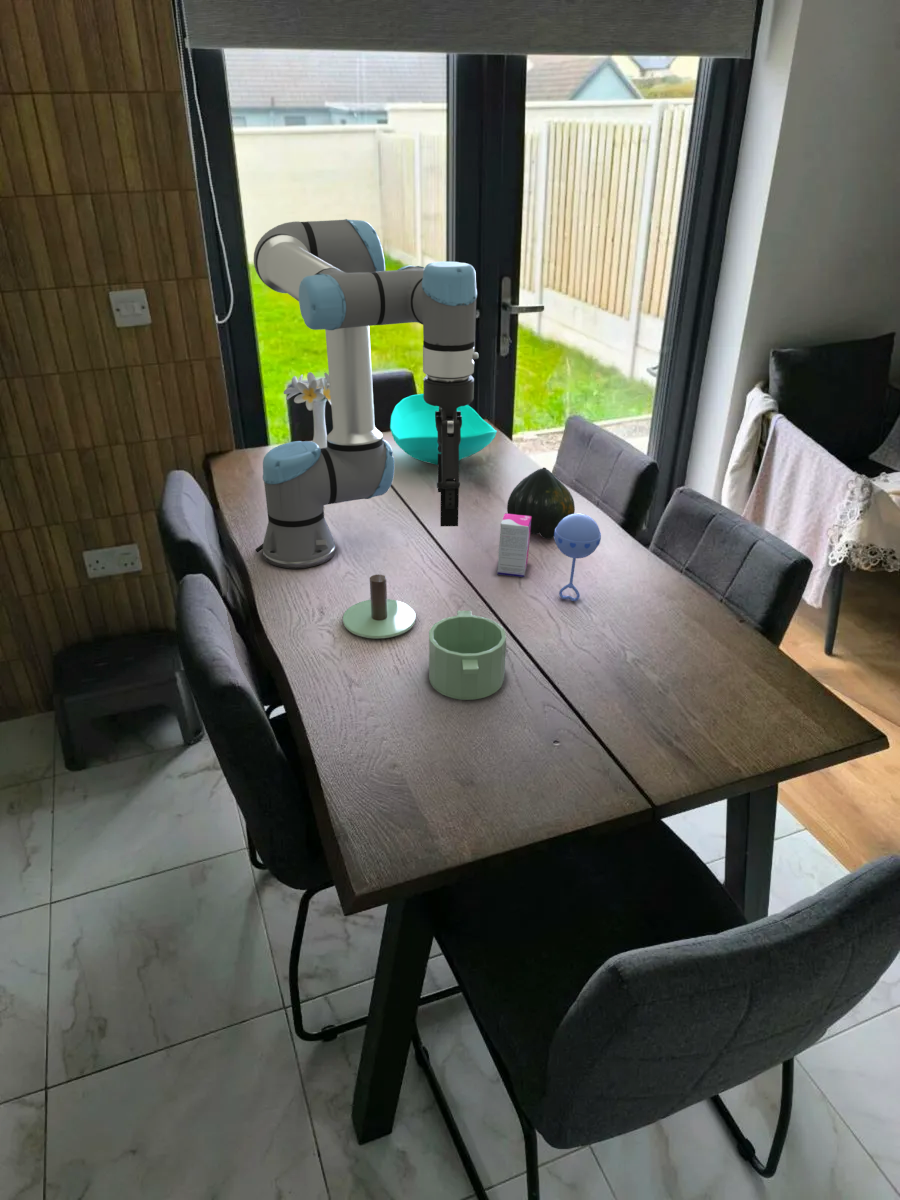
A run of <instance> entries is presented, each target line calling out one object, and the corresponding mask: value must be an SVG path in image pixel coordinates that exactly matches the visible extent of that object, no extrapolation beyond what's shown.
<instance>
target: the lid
mask: <svg viewBox="0 0 900 1200" xmlns="http://www.w3.org/2000/svg"><path fill="white" fill-rule="evenodd" d="M387 587H388V585H387V576H386V575H384V574H378V573H377V574H373V575H371V576H370V577H369V596H370V599H366V600H362V601H359V602H357V603H354V604H353V605H350V607H348V608H347V609H346V610H345V612H344V613H343V616H342V623H343V626H344V627H345V629H346V630H347V631H349V632H350V633H351V634H353V635H356V636H358V637H362V638H367V639H388V638H394V637H397V636H400V635H403V634H405V633H406V632H408V631H409V630H410V629H412V628H413V627H414V626H415V623H416V620H417V619H416V618H417V616H416V612H415V610H414V609H413V608H412V607H411V606H410V605H409V604H407V603H405V602H402V601H400V600H397V599H390V598H388V589H387Z"/></svg>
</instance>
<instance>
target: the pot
mask: <svg viewBox="0 0 900 1200" xmlns="http://www.w3.org/2000/svg"><path fill="white" fill-rule="evenodd" d="M506 653H507V634H506V630H505V629H504V628H503V627H502V626H501V624H499V622H496V621H494V620H493V619H490V618H488V617H484V616H479V615H474V614H472V610H457V611H456V615H453V616H448V617H445V618H443V619H441V620H439V621H437V622H435V623H434V624H433V625H432V627H430V629H429V631H428V675H429V676H428V680H429V683H430V685H431V686H432V688H433V689H434V690H435V691H436V692H438V693H439V694H441V695H443V696H445V697H448V698H451V699H455V700H462V701H474V700H480V699H485V698H487V697H490V696H491V695H493V694H495V693H497V692H498V691H499V690H500V689H501V688H502V686H503V684H504V680H505V674H506V673H505V669H506Z"/></svg>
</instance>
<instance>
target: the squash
mask: <svg viewBox="0 0 900 1200" xmlns="http://www.w3.org/2000/svg"><path fill="white" fill-rule="evenodd" d="M575 510H576V507H575V501H574V498H573V495H572V493H571V492H570V490H569V489H568V488H567V487H566V485H564V484H563V482H561V481H560V479H558V478H557V477H556V476H555V474H554V473H552V471H550V470H549V469H548V468H547V467H542V468H539V469H538V468H537V469H536V470H535V471H533V472H532V473H530V474H528V475H527V476H526V477H524V478H523V479H522V480H520V481H519V482H518V484H517V485H515V487H514V488H513V490H512V491H511V493H510V495H509V497H508V500H507V505H506V513H507V514H515V515H524V516H531V528H530V534H532V535H540V536H541V538H543V539H545V540H551V539H554V532H555V528H556V527H557V525H558V524H559V522H560V521H561V520H562V519H563V518H565V517H566V516H568V515H571V514H575Z"/></svg>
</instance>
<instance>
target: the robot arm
mask: <svg viewBox="0 0 900 1200" xmlns="http://www.w3.org/2000/svg"><path fill="white" fill-rule="evenodd" d="M253 267H254V269H255V272H256V275H257V276H258V278H259V279H260V281H261V282H262V283H264V285H265V286H266V287H268V288H270V289H271V290H273V291H274V292H277V293H281V294H288V295H289V296H290V297H292V298H293V299H295V301H297V302H298V305H299V311H300V314H301V317H302V319H303V321H304V324H305V326H306V327H307V328H308V329H310V330H313V331H314V330H315V331H318V330H320V331H321V330H323V331H324V330H325V341H326V355H327V366H328V375H329V382H330V394H331V405H330V406H331V418H332V430H331V431H330V432H329V433H327V447H326V448H321V449H320V448H319V446H318V445H317V444H316V443H314V442H312V441H310V440H305V441H302V440H296V441H295V440H294V441H290V442H286V443H282V444H279V445H278V446H275V447H273V448H271V449H270V450H269V451H267V453H266V454H265V455H264V457H263V460H262V480H263V482H264V483H263V485H264V494H265V502H266V512H267V526H266V529H265V535H264V539H263V542H262V544H260V545H259V546H257V547H256V548H255V550H254V551H255V552H256V553H259V552H261V551H262V557H263V559H264V560H265V561H266V562H267V563H268V564H269V565H272V566H275V567H278V568H283V569H307V568H312V567H315V566H320V565H321V564H324V563H326V562H328V561H329V560H330V559H332V558H333V557H334V556H335V554H336V544H335V543H336V542H335V539H334V537H333V533H332V532H331V530H330V528H329V525H328V523H327V520H326V518H325V506H327V505H333V504H340V503H346V502H351V501H358V500H370V499H372V498H375V497H380V496H383V495H385V494H386V493H388V491H389V490H390V489H391V487H392V484H393V481H394V476H395V457H394V456H393V455H394V454H393V453H394V450H393V449H392V445H391V444H390V443H389V442H388V441H387V440H385V439H383V438H384V436H383V432H381V431H380V430H379V429H378V428H377V427H376V425H375V404H374V388H373V387H374V386H373V371H372V353H371V352H372V350H371V335H370V326H387V325H399V324H409V323H411V324H412V323H417V324H418V323H419V324H420V325H422V335H423V340H422V343H423V344H422V372H423V373H424V374H425V375H424V377H423V378H422V379H423V381H422V382H423V394H424V400H425V402H426V403H428V404H430V405H432V406H439V411H435V422H436V429H437V431H438V440H437V443H438V445H439V446H438V451H439V452H441V454H438V465H437V482H436V488H437V493H440V510H439V511H440V513H439V514H440V519H439V520H440V527H459V506H460V505H459V504H460V503H459V502H460V501H459V498H460V497H459V495H460V486H461V482H460V460H459V444H460V441H461V431H460V429H461V427H462V416H461V411H457V408H458V407H460V406H466V405H470V404H472V402H473V401H474V399H475V398H474V395H475V393H474V392H475V378H474V377H473V374H474V372H475V361H474V360H478V359H479V358H480V357H479V353H478V352H477V351H475V345H476V344H475V342H476V341H475V340H476V322H477V321H476V320H477V319H476V317H477V298H478V288H477V273H476V270H475V267H474V266H473V265H472V264H470V263H466V262H459V261H435V262H430V263H428V264H426V265H425V267H424V266H422V265H417V266H416V265H404V266H402V267H400V268H398V269H397V270H396V269H393V270H386V261H385V255H384V250H383V246H382V243H381V240H380V238H379V235H378V233H377V231H376V230H375V228H374V227H373V226H372V225H371V223H369V222H367V221H365V220H362V219H361V220H360V219H347V218H345V219H335V220H334V219H332V220H331V219H329V220H310V221H309V220H307V221H289V222H284V223H281V224H278V225H276V226H274V227H272V228H270V229H269V230H268V231H266V232H265V233H264V234H263V235H262V236H261V237H260V239H259V240H258V241H257V243H256V246H255V248H254V252H253Z"/></svg>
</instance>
